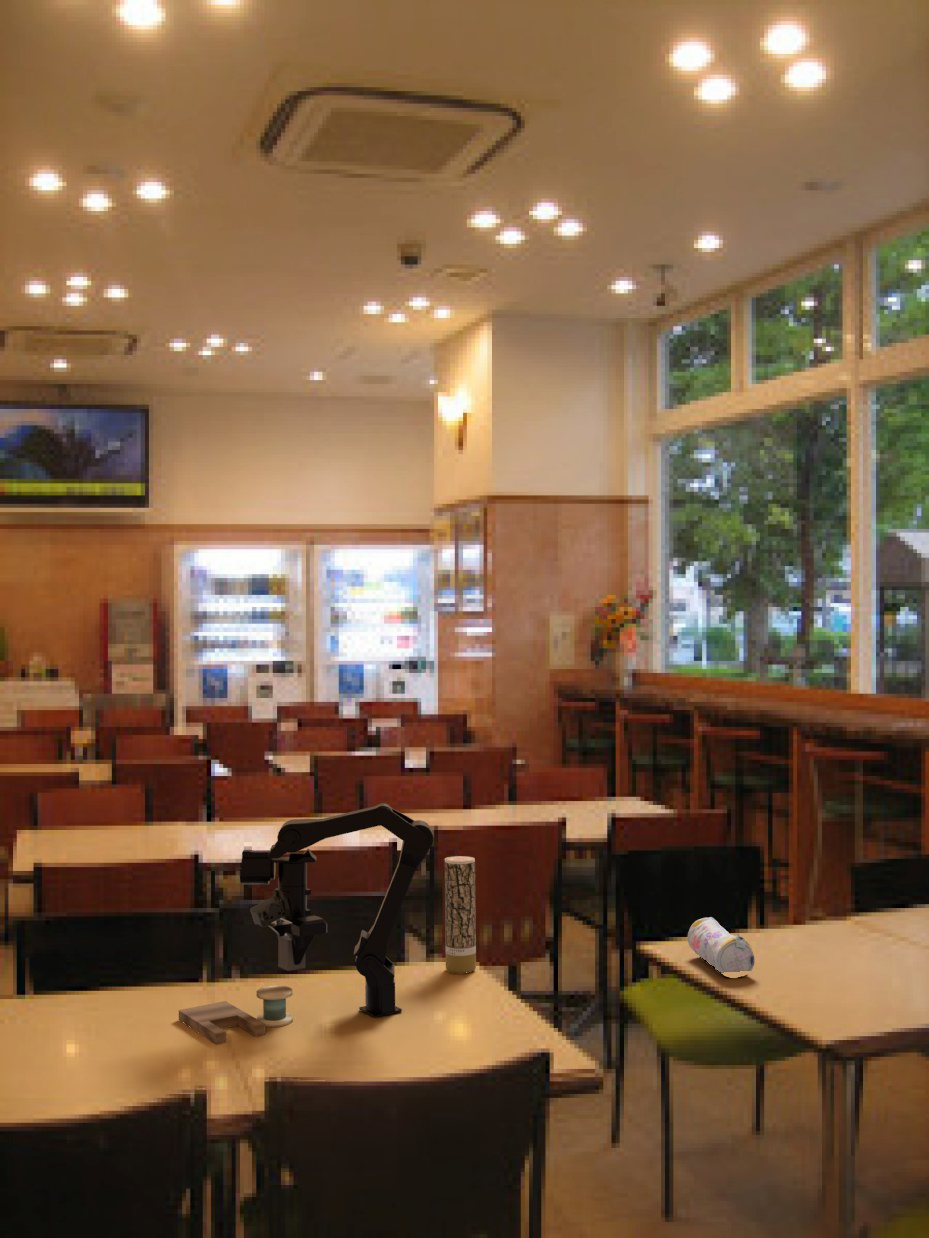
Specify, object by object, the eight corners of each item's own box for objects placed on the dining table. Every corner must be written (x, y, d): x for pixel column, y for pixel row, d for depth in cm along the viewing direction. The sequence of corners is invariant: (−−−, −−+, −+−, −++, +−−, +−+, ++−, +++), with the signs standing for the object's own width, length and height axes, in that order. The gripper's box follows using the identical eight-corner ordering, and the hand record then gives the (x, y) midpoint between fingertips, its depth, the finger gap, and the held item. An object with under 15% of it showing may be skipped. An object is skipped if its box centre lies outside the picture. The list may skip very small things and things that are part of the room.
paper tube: (472, 975, 282) (471, 862, 282) (442, 974, 283) (441, 861, 283) (478, 967, 289) (477, 856, 289) (449, 965, 290) (448, 855, 290)
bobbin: (298, 1022, 250) (298, 991, 250) (266, 1029, 246) (266, 998, 246) (282, 1013, 256) (282, 983, 256) (250, 1020, 252) (250, 989, 252)
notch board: (265, 1034, 243) (265, 1023, 243) (216, 1044, 237) (216, 1033, 237) (225, 1010, 258) (225, 1001, 258) (178, 1020, 252) (178, 1010, 252)
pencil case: (756, 979, 277) (756, 935, 277) (718, 982, 276) (718, 938, 276) (721, 955, 298) (720, 914, 298) (685, 957, 296) (684, 916, 296)
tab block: (305, 967, 255) (305, 936, 255) (287, 970, 253) (287, 939, 253) (295, 963, 258) (296, 932, 258) (278, 966, 256) (278, 934, 256)
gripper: (235, 880, 259) (234, 957, 259) (277, 897, 243) (277, 979, 243) (284, 874, 265) (284, 950, 265) (328, 890, 250) (328, 970, 250)
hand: (292, 962), depth 256 cm, fingers closed on tab block, 4 cm apart
